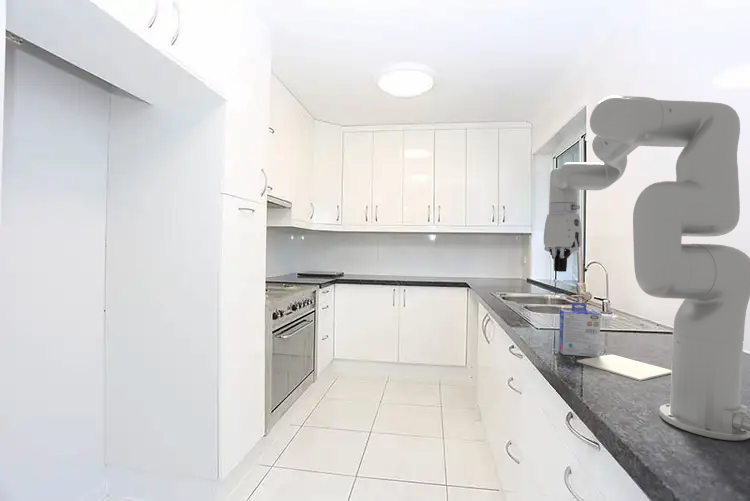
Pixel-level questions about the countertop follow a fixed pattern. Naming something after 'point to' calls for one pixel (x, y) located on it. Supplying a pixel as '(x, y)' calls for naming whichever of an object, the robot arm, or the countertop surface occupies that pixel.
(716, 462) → the countertop surface
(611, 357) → the cream mat
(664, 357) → the countertop surface
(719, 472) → the countertop surface
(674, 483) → the countertop surface
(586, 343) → the ink cartridge box
